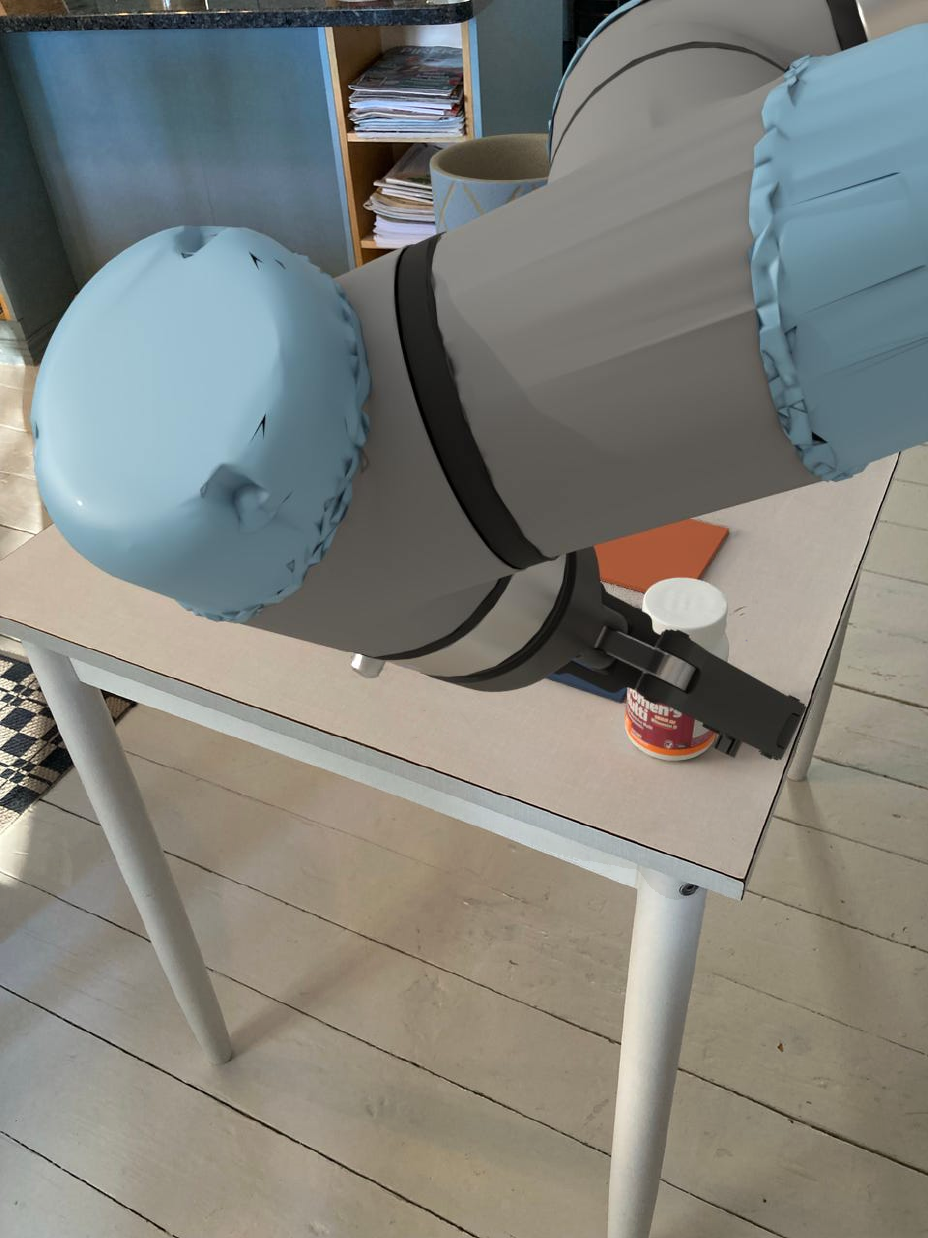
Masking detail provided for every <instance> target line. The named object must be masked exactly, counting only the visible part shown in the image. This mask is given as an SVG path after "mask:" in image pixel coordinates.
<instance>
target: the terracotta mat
mask: <svg viewBox="0 0 928 1238" xmlns="http://www.w3.org/2000/svg"><path fill="white" fill-rule="evenodd" d="M729 532H730V528H729V527H725V526H720V525H718V524H713V523H709V522H704V521H700V520H696V519H694V518H690V519H687V520H683V521H680V522H676V523H673V524H669V525H666V526H662V527H658V528H655V529H651V530H648V531H644V532H641V533H637V534H634V535H630V536H627V537H623V538H619V539H616V540H612V541H609V542H605V543H602V544H598V545H595V546H594V548H595V551H596V555H597V559H598V563H599V570H600V581H601V582H603V583H607V584H612V585H615V586H617V587H622V588H625V589H628V590H632V591H635V592H639V593H643V594H645V593H646V592H647V590H648V589H649V588H650V587H651V586H653V585H654V584H656V583H658V582H660V581H663V580H666V579H671V578H693V579H697V580H701V578H702V576H703V574H704V573H705V571H706V570H707V568H708V566H709V564H710V563H711V562H712V560H713V558H714V557H715V556H716V554H717V552H718V550H719V549H720V547H721V546H722V544H723V543H724V541H725V539H726V538H727V536H728V535H729Z"/></svg>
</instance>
